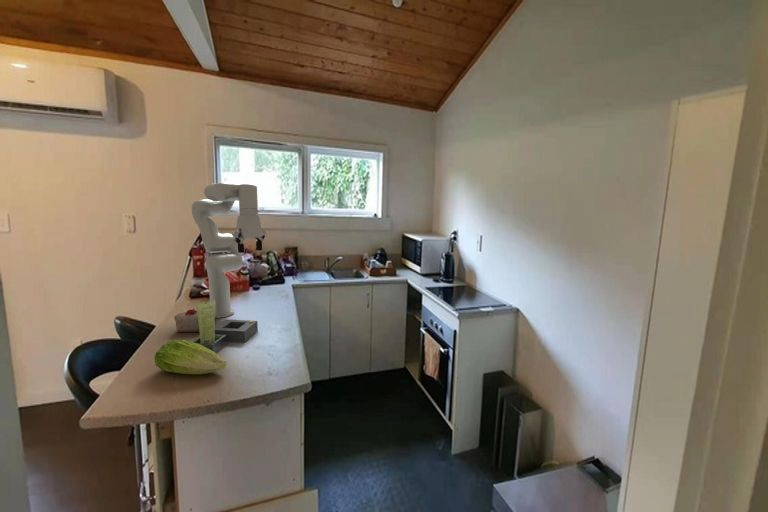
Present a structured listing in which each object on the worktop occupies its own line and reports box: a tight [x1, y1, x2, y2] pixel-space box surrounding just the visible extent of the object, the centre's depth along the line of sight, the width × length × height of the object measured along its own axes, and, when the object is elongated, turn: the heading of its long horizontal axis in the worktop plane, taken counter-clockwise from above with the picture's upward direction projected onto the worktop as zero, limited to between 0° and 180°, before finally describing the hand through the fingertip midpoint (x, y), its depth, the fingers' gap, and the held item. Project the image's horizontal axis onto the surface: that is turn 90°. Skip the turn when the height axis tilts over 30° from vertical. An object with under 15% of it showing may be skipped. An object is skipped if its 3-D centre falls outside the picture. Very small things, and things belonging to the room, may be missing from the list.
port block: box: [215, 319, 259, 344], centre depth 156 cm, size 15×13×5 cm
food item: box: [173, 308, 200, 333], centre depth 161 cm, size 14×8×10 cm, turn 95°
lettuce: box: [154, 339, 227, 375], centre depth 123 cm, size 12×24×13 cm
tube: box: [195, 300, 216, 344], centre depth 141 cm, size 6×5×20 cm
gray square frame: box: [191, 334, 228, 354], centre depth 142 cm, size 10×11×4 cm
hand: (250, 251), depth 157 cm, fingers open, 9 cm apart
